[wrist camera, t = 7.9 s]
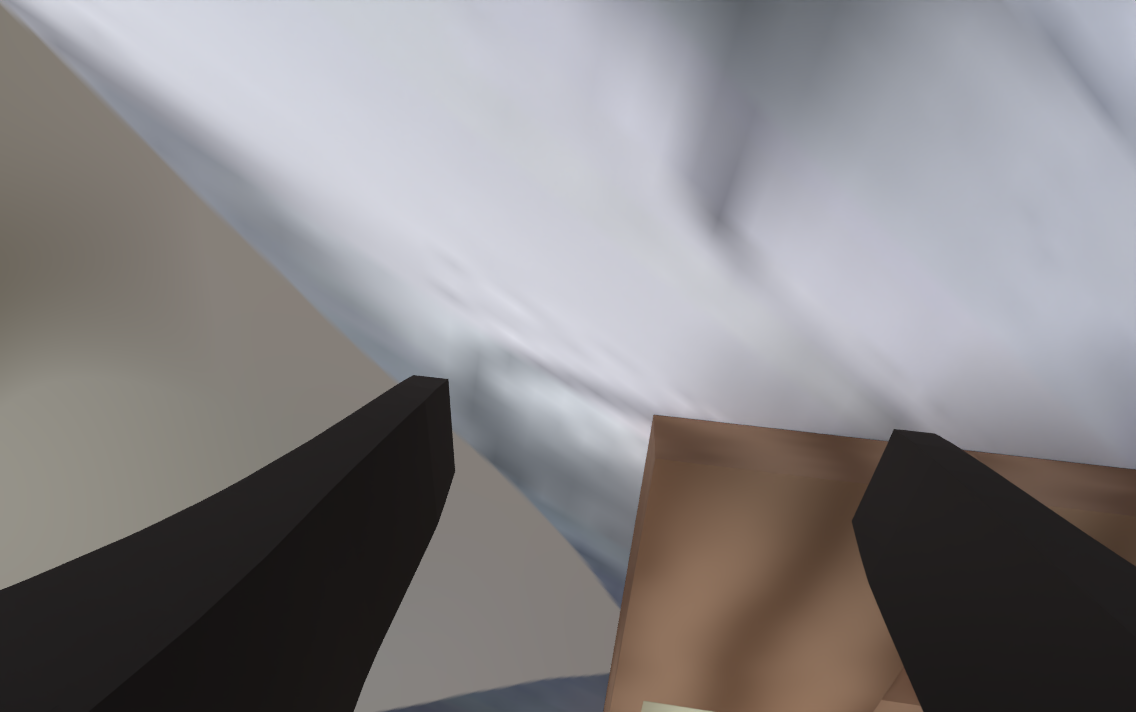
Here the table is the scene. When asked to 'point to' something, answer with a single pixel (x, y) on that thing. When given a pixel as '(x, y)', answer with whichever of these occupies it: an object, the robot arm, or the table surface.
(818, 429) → the table surface
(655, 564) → the trap deck
